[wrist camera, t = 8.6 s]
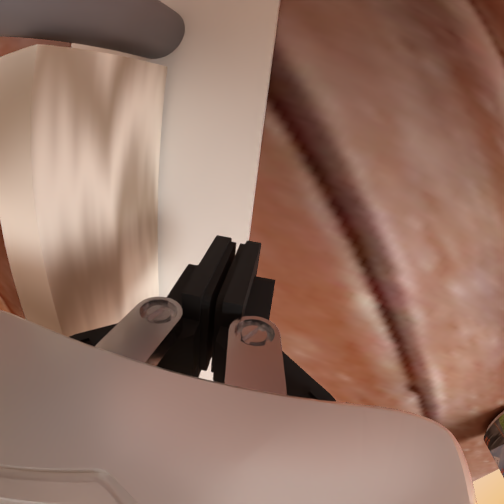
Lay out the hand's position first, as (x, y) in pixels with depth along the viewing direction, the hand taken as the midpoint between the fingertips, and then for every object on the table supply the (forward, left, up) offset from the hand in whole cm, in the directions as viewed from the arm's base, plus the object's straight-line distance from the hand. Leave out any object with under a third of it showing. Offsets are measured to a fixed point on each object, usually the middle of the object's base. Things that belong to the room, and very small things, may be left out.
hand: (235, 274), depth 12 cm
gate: (+1, -6, -5) cm, 8 cm away
